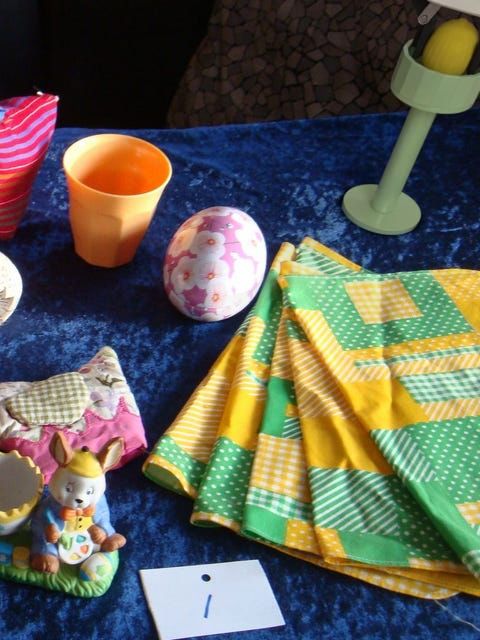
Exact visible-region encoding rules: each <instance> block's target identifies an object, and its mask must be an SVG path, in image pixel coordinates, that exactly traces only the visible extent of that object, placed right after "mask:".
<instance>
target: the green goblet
mask: <svg viewBox="0 0 480 640" xmlns="http://www.w3.org/2000/svg"><path fill="white" fill-rule="evenodd" d="M413 39H414V38H412V39H409V40H408V41H407V42H406V43H405V44H404V46H403V47H402V50H401V52H400V55H399V57H398V60H397V63H396V64H395V67H394V70H393V73H392V75H391V79H390V83H389V87H390V91H391V92H392V94H393V95H394V96H395V97H396V98H397V99H398V100H400V101H401V102H402V103H404V104H406V105H408V106H409V107H410V109H409V111H408V114H407V116H406V118H405V121H404V123H403V125H402V128H401V130H400V132H399V135H398V136H397V139H396V141H395V144H394V147H393V149H392V151H391V154H390V156H389V159H388V161H387V162H386V163H387V164H386V166H385V167H384V170H383V172H382V175H381V177H380V179H379V183H378V184H373V183H372V184H370V183H369V184H368V183H367V184H360V185H356V186H353V187H352V188H350V189H349V190H347V192H346V193H345V194H344V196H343V198H342V201H341V208H342V211H343V213H344V215H345V216H346V217H347V218H348V219H349V220H350V222H352V223H353V224H355V225H356V226H358V227H360V228H362V229H364V230H366V231H369V232H372V233H376V234H379V235H388V236H389V235H390V236H393V235H394V236H395V235H402V234H403V235H404V234H407V233H409V232H411V231H413V230H414V229H415V228H416V227H417V226H418V224H419V222H420V220H421V217H422V213H421V209H420V207H419V204H417V202H416V201H415V200H414V199H413V198H412V197H410V196H409V195H408V194H406V193H404V192H403V190H404V188H405V185H406V183H407V180H408V178H409V177H410V173H411V172H412V169H413V167H414V165H415V163H416V161H417V159H418V156H419V154H420V152H421V149H423V148H422V147H423V145H424V143H425V141H426V139H427V136H428V134H429V132H430V130H431V128H432V125H433V123H434V121H435V119H436V117H437V114H439V115H440V114H442V115H450V114H459V113H463V112H465V111H467V110H470V109H471V108H472V107H473V106H474V104H475V102H476V101H477V99H478V97H479V95H480V67H479V68H478V69H477V70H476V72H475V73H474V74H473V75H467V74H466V72H467V71H466V72H465V73H464V74H463V75H462V76H458V75H450V74H443V73H440V72H437V71H433V70H430V69H427V68H426V67H424V66H422V65H421V57H422V55H421V56H420V57H419V59H418V58H417V59H413V58H412V55H413V53H414V50H415V48H414V47H411V44H412V41H413Z"/></svg>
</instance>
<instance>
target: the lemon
mask: <svg viewBox="0 0 480 640" xmlns="http://www.w3.org/2000/svg"><path fill="white" fill-rule="evenodd" d="M479 44H480V36H479V32H478V29H477V28H476V27H475V26H474V24H473V23H472V22H470V21H468V18H466V17H460V18H456V19H455V18H454V19H451V20H447V21H445V22H443V23H440V25H438V26H437V27H435V29H434V31H433V33H432V34H431V36H430V37H429V38H428V40H427V42H426V44H425V46H424V49H423V52H422V57H421V65H422V66H424V67H426V68H427V69H430V70H433V71H437V72H440V73H443V74H450V75H458V76H462V75H463V74H464V73H465V72H466V71H467V70H468V68H469V66H470V64H471V61H472V59H473V57H474V55H475V53H476V50H477V48H478V46H479Z"/></svg>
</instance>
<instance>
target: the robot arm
mask: <svg viewBox="0 0 480 640" xmlns="http://www.w3.org/2000/svg"><path fill="white" fill-rule="evenodd" d="M410 1H411V4H412V6H413V9H414V11H415V13H416V15H417V16H418V17H417V22H418V26H417V29H416V32H415V33H414V37H413V38H412V39H413V41H412V44H411V47H414V48H415V50H414V53H413V55H412V58H413V59H417V58H418V59H419V57H420V56H421V55H422V52H423V49H424V46H425V44H426V42H427V40H428V38H429V37H430V36H431V34H432V33H433V32H434V31H435V29H436V28H437V27H436V26H437V24H438V22H439V19H438V11H439V10H440V9H441V8H442V7H443V8H446V9H450V10H454V11H458V12H460V13H465V14H467V15H471V16H474V17H475V16H476V17H479V18H480V0H410ZM479 67H480V43H479V45H478V48H477V50H476V53H475V55H474V57H473V59H472V61H471V64H470V66H469V68H468V70H467V72H466V74H467V75H473V74H474V73H475V72H476V70H477V69H478V68H479Z"/></svg>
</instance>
